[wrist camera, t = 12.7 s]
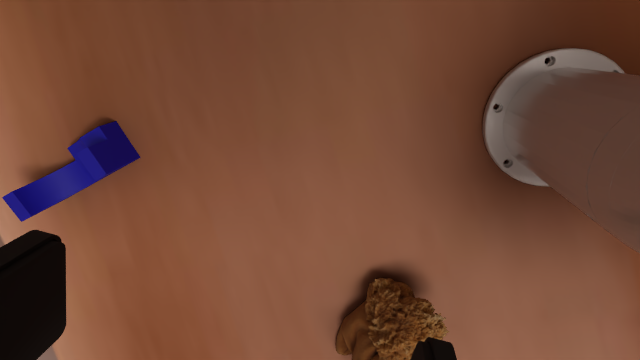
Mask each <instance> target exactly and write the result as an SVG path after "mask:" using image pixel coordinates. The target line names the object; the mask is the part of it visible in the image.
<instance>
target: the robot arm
mask: <svg viewBox="0 0 640 360" xmlns="http://www.w3.org/2000/svg"><path fill="white" fill-rule="evenodd" d="M546 58H548V62H547V63H546V64H545V59H546ZM495 104H497V105H498V107H497V108H496V109H493V106H494V105H495ZM482 133H483V138H484V143H485V146H486V148H487V151H488V153H489V155H490V157H491V158H492V159H493V161H494V162H495V163H496V165H497V166H498V167H499V168H500V169H501V170H502V171H504V172H505V173H506V174H508V175H509V176H511V177H512V178H514V179H516V180H518V181H521V182H523V183H526V184H530V185H535V186H547V187H552V188H553V189H554V190H555V191H557V192H558V193H559V194H561V195H562V196H563V197H564V198H566V199H567V200H568V201H569V202H571V203H572V204H573V205H575V206H576V207H577V208H578V209H580V210H581V211H582V212H583V213H585V214H586V215H587V216H589V217H590V218H591V219H592V220H594V221H595V222H596V223H598V224H599V225H600V226H601V227H603V228H604V229H605V230H607V231H608V232H610V233H611V234H612V235H614V236H615V237H616V238H617V239H619V240H620V241H621V242H623V243H624V244H625V245H627V246H629V247H630V248H632V249H633V250H635V251H637V252H638V253H640V75H632V74H625V72H624V71H623V70H622V69H621V68H620V67H619V66H618V65H617V64H616V63H615V62H614V61H613V60H611V59H609V58H608V57H606V56H604V55H603V54H600V53H597V52H594V51H591V50H586V49H578V48H561V49H555V50H549V51H545V52H543V53H540V54H537V55H534V56H532V57H530V58H528V59H527V60H525V61H523V62H521V63H520V64H518V65H517V66H516V67H514V68H513V69H512V70H511V71H509V72H508V73H507V74H506V75H505V76H504V78H503V79H502V80H501V81H500V82H499V83H498V84H497V86H496V88H495V89H494V91H493V92H492V94H491V95H490V98H489V100H488V103H487V105H486V107H485V112H484V116H483V132H482ZM506 159H507V162H506V163H503V162H504V161H505V160H506ZM65 326H66V249H65V245H64V244H63V243H62V242H61V239H60V237H59V236H57V235H54V234H50V233H46V232H43V231H39V230H32V231H29V232H27V233H26V234H24V235H22V236H20V237H18V238H17V239H15V240H13V241H11V242H9V243H8V244H6V245H4V246H2V247H0V360H37V359H38V357H40V356H41V355H42V354H43V353H44V352H45V351H46V350H47V349H48V348H49V347H50V346H51V345H52V344H53V343H54V342H55V341H56V340H57V339H58V338H59V337H60V336H61V335H62V333H63V331H64V329H65ZM410 360H457V358H456V355H455V351H454V348H453V345H452V344H451V343H450V342H446V341H443V340H439V339H435V338H432V337H427V338H426V340H425V342H423V341H418V343H417V344H416V347H415V349H414V352H413V354H412V356H411V359H410Z"/></svg>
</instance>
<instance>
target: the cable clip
mask: <svg viewBox="0 0 640 360" xmlns="http://www.w3.org/2000/svg"><path fill="white" fill-rule="evenodd" d="M68 150H69V151H70V153H71V154H72V155H73V157H74V158H75V161H74V162H72V163H70V164H68V165H66V166H64V167H63V168H61V169H59V170H57V171H55V172H53V173H51V174H49V175H47V176H45V177H43V178H41V179H39V180H37V181H35V182H32V183H30V184H28V185H26V186H24V187H21V188H19V189H17V190H15V191H12V192H10V193H9V194H7V195H5V196H4V197H2V198H3V199H4V200H5V202H6V203H7V204H8V205H9V207H10V208H11V209H12V211H13V212H14V213H15V214H16V216H17V217H18V218H19V219H20V221H21V222H22V221H24V220H26V219H28V218H30V217H32V216H34V215H36V214H37V213H39V212H41V211H43V210H45V209H47V208H49V207H51V206H53V205H55V204H57V203H59V202H61V201H63V200H65V199H66V198H68V197H70V196H72V195H74V194H75V193H77V192H79V191H81V190H83V189H84V188H86V187H88V186H90V185H92V184H93V183H95V182H97V181H99V180H101V179H103V178H104V177H106V176H108V175H110V174H112V173H113V172H115V171H117V170H119V169H121V168H122V167H124V166H126V165H128V164H130V163H131V162H133V161H135V160H137V159H139V158H140V156H139V154H138V153H137V151H136V150H135V148H134V147H133V145H132V144H131V142H130V141H129V140H128V138H127V137H126V135H125V134H124V132H123V131H122V129H121V128H120V126H119V125H118V123H117V122H116V121H115V122H111V123H108V124H105V125H102V126H99V127H97V128H95V129H94V130H92V131H90V132H89V133H87V134H85V135H84V136H82V137H80V139H79V140H78V141H77V142H76V143H74V144H73V145H71V146H70V147H68Z"/></svg>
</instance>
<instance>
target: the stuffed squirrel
mask: <svg viewBox="0 0 640 360" xmlns="http://www.w3.org/2000/svg"><path fill="white" fill-rule="evenodd" d="M366 298H367V299H366V301H365V302H364V303H362V304H361V305H360V306H359V307H357V308H356V309H355V310H354V311H353V312H352V313H350V314H349V315H348V316H346V317H345V318H344V320H343V323H342V325H341V327H340V330H339V333H338V336H337V340H336V351H337V352H338V353H339V354H342V355H349V354H351V353H352V360H410V359H411V356H412V354H413V352H414V349H415V347H416V344H417V343H418V341H423V342H425V340H426V338H427V337H432V338H435V339H439V340H441V339H442V340H443V336H446V333H448V332H449V331H447V329H446V328H447V327H445V326H444V323H443V322H442V321H443V320H445V319H446V318H443V317H442V316H440V315H441V313H440V314H437V313H435V314H433V312H434V310H435V309H433V306H432V305H431V303H430V302H429V301H428V300H426V299H421V298H415V297H414V295H413V292H412V291H411V288H410V287H409V286H408V285H407V284H405V283H403V282H402V283H401V282H396V281H394V280H393V279H391V278H390V279H389V278H387V279H384V278H379V279H375V281H374V282H372V283H369V287H368V290H367V297H366Z"/></svg>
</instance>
